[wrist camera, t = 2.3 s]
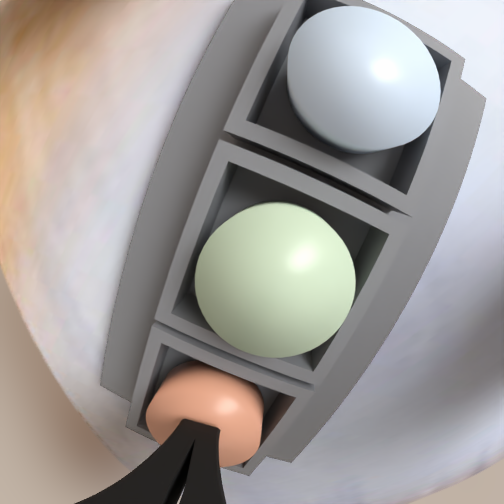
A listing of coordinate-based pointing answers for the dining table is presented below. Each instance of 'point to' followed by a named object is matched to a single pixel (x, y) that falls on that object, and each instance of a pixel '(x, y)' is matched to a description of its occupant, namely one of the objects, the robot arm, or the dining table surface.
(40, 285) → the dining table surface
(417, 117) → the pale blue button
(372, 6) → the button panel
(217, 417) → the terracotta button
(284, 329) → the sage button
